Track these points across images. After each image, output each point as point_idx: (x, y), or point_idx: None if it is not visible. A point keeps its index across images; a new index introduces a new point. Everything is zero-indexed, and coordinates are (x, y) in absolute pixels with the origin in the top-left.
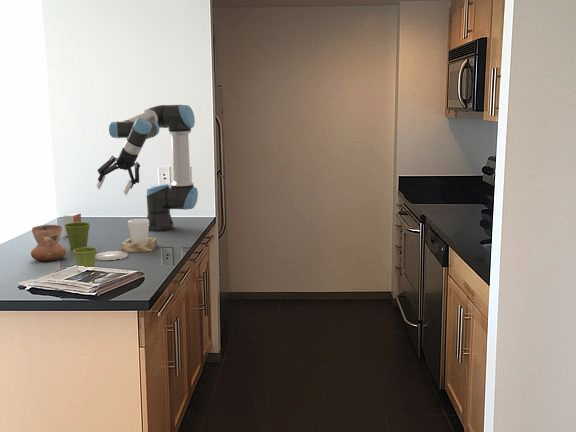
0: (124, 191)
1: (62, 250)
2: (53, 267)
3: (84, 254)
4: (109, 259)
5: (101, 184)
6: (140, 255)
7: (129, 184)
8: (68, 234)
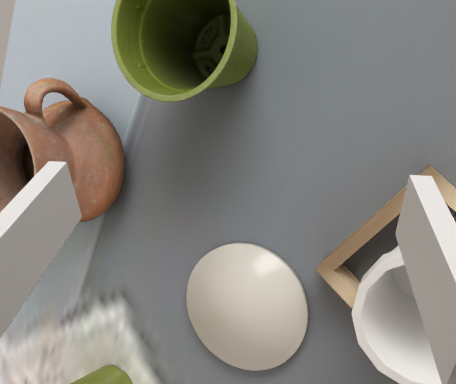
0: (409, 201)
1: (90, 214)
2: (68, 273)
3: None
4: (212, 349)
5: (48, 256)
6: (344, 380)
7: (438, 334)
8: (149, 45)
